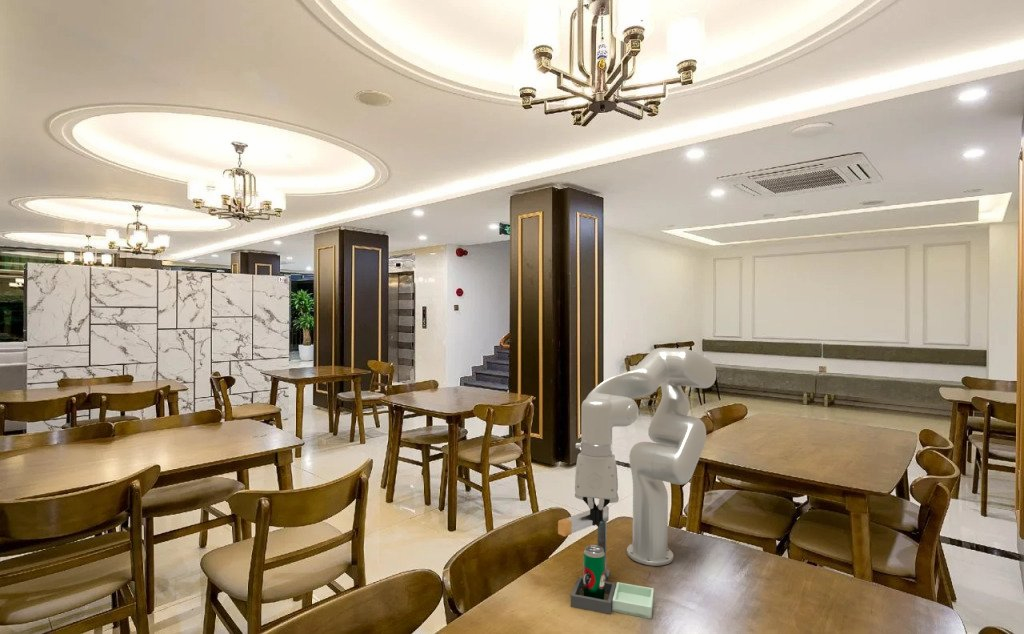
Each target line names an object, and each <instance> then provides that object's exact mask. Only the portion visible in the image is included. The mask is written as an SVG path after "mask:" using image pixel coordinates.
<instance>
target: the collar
mask: <svg viewBox="0 0 1024 634" xmlns="http://www.w3.org/2000/svg"><path fill="white" fill-rule="evenodd" d="M616 585H617V582H612V581H611V582H610V581H605V595H609V596H608V598H607V599H605V600H602V599H597V598H592V597H586V596H583V595H581V591H582V590H583V576H578V578H577V579H576V583H575V585H574V587H573V590H572V592H571V594H570V607H571V608H572V607H573V608H577V609H581V610H587V611H593V612H597V613H603V614H608V615H611V614H612V612H613V611H612V603H613V596H614V593H615V589H616Z"/></svg>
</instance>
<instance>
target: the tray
mask: <svg viewBox="0 0 1024 634" xmlns="http://www.w3.org/2000/svg"><path fill="white" fill-rule="evenodd" d="M654 593H655V592H654V587H647V586H642V585H636V584H630V583H625V582H619V581H617V582H616V589H615V593H614V596H613V603H612V611H611V612H614V613H618V614H625V615H630V616H634V617H639V618H644V619H649V620H651V619H652V617H653V610H654V609H653V608H654V607H653V606H654V598H655V597H654Z"/></svg>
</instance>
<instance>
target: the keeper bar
mask: <svg viewBox="0 0 1024 634" xmlns="http://www.w3.org/2000/svg"><path fill="white" fill-rule="evenodd" d="M596 506H598V504H596ZM609 508H610V507H609V506H608V505H606V506H605V507H604V508H603V521H602V522H607V523H608V521H609V519H610V518H609V513H610V510H609ZM592 526H593V525H592V520H590V509H589V510H586V511H583V512H580V513H577V514H575V515H572V516H569V517H565V518H562V519H558V521H557V534H558V535H560V536H562V537H563V538H564V537H568V536H570V535H573V534H574V533H576V532H580V531H582V530H584V529H587V528H590V527H592Z"/></svg>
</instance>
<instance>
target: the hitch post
mask: <svg viewBox="0 0 1024 634" xmlns="http://www.w3.org/2000/svg"><path fill="white" fill-rule="evenodd" d="M607 523H608V521H607V522H600V524H599V526H597V546H600V547H602V548H603V549H604V553H605V581H606V582H608V580H609V577H610V573H611V570H610V569H607V540H608V537H607V533H608V532H607Z"/></svg>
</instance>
